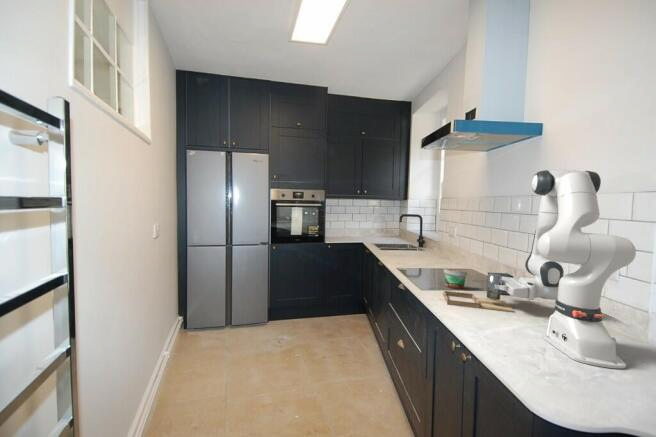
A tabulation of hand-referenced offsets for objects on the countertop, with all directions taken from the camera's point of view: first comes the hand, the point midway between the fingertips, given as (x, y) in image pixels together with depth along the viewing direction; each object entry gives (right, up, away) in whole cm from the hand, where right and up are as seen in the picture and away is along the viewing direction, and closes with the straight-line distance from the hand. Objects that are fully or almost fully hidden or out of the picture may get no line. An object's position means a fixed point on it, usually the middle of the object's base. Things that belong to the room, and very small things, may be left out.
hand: (492, 284), depth 134 cm
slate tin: (+1, -7, 0) cm, 7 cm away
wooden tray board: (-6, -10, +2) cm, 12 cm away
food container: (-7, -8, +24) cm, 26 cm away
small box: (+14, -9, +18) cm, 25 cm away
